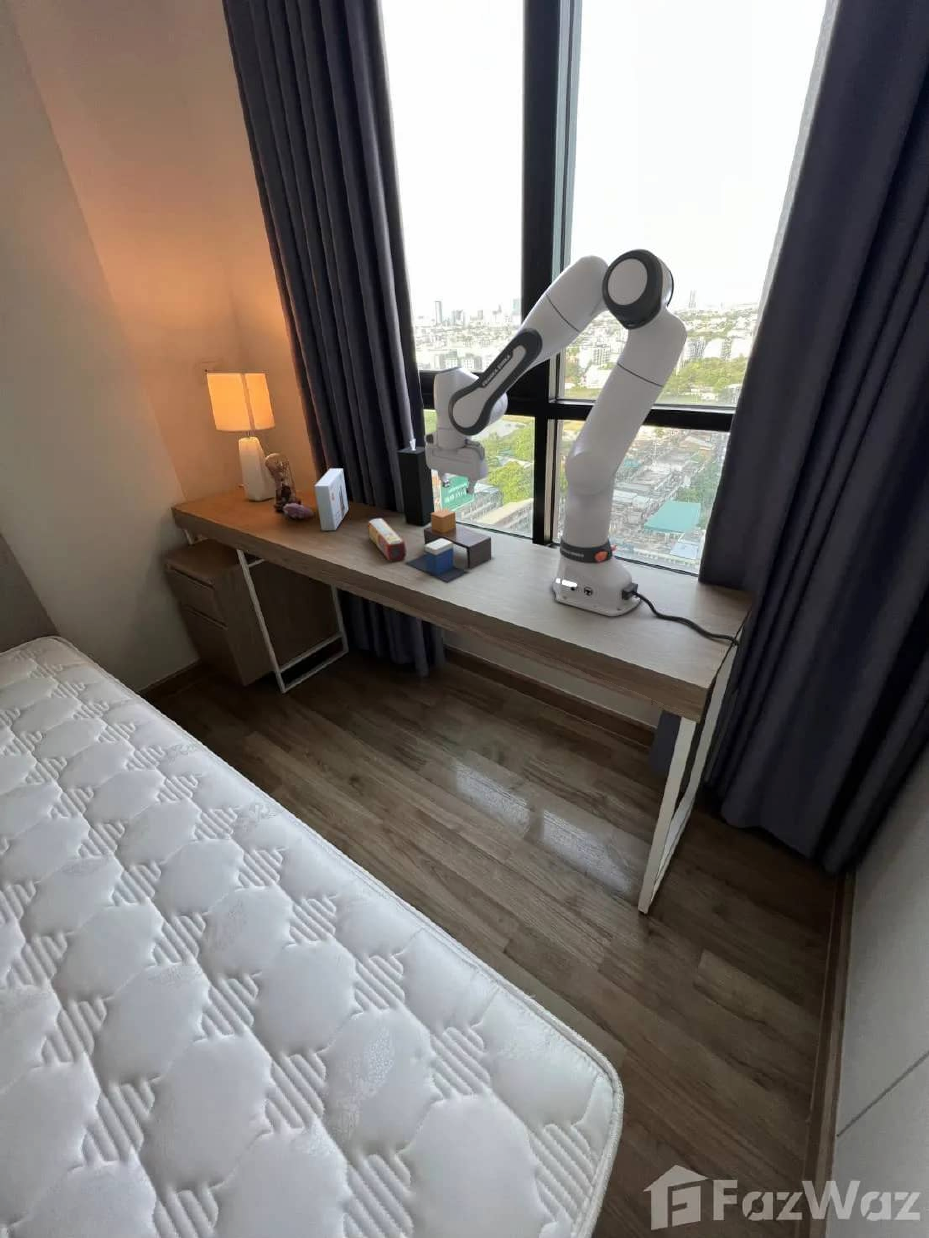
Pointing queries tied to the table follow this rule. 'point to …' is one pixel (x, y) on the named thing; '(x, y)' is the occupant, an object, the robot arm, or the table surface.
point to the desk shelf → (464, 543)
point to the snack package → (386, 539)
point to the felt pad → (446, 576)
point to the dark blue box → (439, 556)
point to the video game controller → (297, 510)
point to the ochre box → (443, 520)
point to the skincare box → (331, 499)
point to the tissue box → (416, 485)
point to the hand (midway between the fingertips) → (457, 490)
